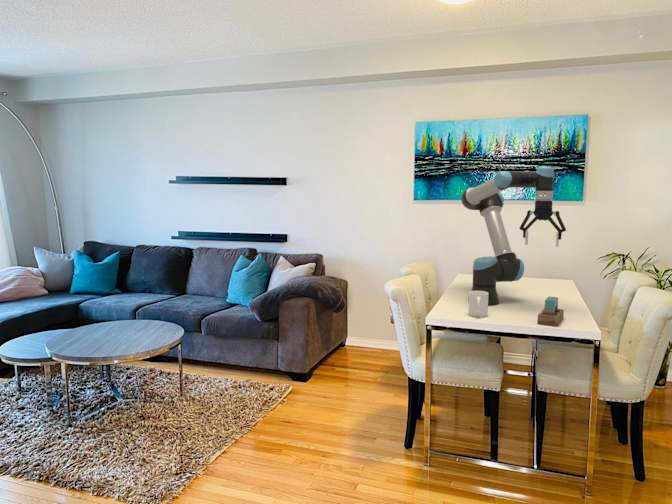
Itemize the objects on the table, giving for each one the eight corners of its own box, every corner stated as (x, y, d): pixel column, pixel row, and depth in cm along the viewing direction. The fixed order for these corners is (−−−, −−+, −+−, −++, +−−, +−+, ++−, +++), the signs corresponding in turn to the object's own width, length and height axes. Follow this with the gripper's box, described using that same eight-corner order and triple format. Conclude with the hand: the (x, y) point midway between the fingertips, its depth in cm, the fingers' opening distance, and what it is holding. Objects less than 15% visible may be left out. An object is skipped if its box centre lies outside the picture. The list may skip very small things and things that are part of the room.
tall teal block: (553, 324, 223) (555, 301, 222) (543, 322, 226) (545, 300, 224) (557, 319, 232) (558, 297, 231) (547, 318, 234) (548, 296, 233)
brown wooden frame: (557, 326, 219) (557, 317, 219) (537, 324, 223) (537, 315, 223) (563, 318, 234) (563, 309, 234) (544, 315, 239) (544, 307, 238)
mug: (467, 318, 233) (468, 294, 231) (468, 312, 244) (469, 290, 243) (487, 319, 230) (488, 296, 229) (487, 313, 242) (488, 291, 241)
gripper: (514, 200, 244) (512, 244, 246) (572, 200, 231) (569, 247, 234) (517, 199, 250) (515, 243, 253) (574, 200, 238) (571, 246, 240)
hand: (541, 245), depth 243 cm, fingers open, 13 cm apart
